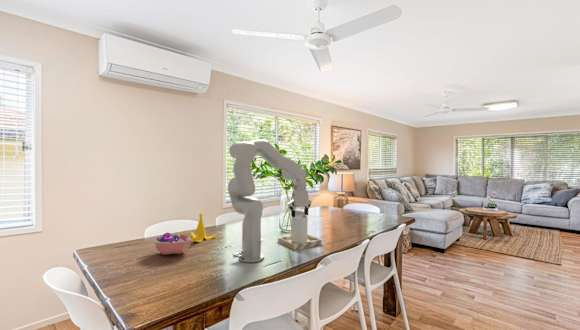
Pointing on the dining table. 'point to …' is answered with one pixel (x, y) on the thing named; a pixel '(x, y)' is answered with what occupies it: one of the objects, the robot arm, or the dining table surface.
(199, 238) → the banana peel
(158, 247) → the cell model
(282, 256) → the dining table surface
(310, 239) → the serving tray
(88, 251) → the dining table surface
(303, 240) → the milk carton
